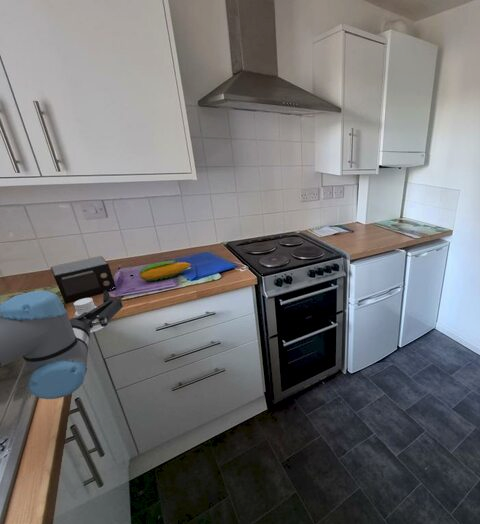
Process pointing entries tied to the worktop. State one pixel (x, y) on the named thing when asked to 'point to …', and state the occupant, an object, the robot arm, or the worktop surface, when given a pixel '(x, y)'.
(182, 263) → the corn
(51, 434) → the worktop surface
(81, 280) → the toaster oven
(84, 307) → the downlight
